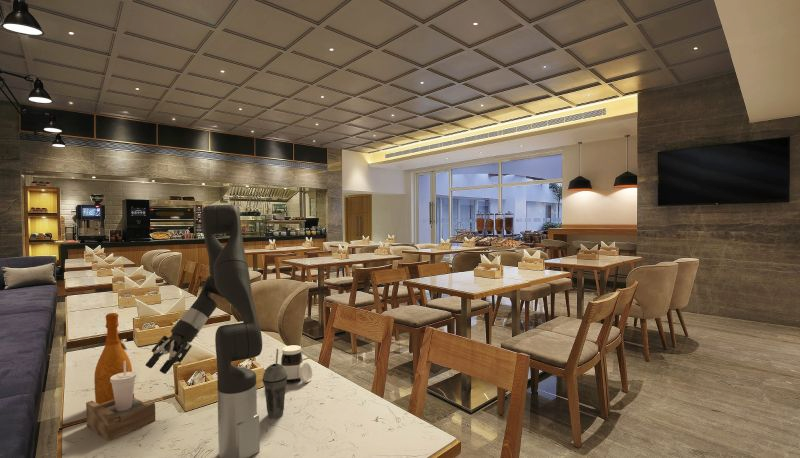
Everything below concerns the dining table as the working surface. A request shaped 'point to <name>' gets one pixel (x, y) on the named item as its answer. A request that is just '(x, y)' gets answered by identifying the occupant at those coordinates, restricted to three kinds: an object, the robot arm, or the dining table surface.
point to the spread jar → (295, 365)
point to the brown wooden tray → (118, 417)
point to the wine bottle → (110, 361)
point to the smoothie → (123, 389)
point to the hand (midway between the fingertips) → (155, 369)
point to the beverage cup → (275, 388)
